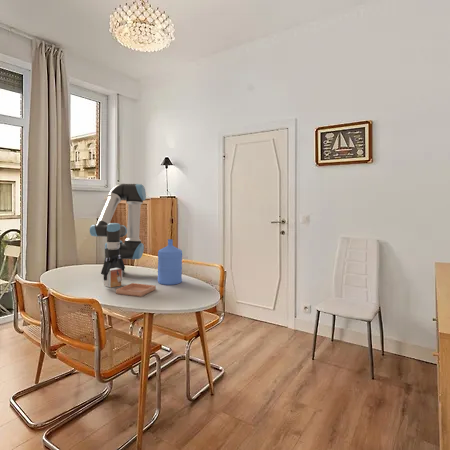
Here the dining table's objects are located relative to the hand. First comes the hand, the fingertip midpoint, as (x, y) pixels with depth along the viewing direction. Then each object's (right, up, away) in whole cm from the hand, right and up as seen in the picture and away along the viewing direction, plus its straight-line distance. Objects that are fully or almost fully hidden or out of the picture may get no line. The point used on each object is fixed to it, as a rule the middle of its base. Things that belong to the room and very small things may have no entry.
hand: (113, 283), depth 201 cm
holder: (+17, -3, -12) cm, 21 cm away
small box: (0, -2, 0) cm, 2 cm away
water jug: (+32, -2, +13) cm, 35 cm away
